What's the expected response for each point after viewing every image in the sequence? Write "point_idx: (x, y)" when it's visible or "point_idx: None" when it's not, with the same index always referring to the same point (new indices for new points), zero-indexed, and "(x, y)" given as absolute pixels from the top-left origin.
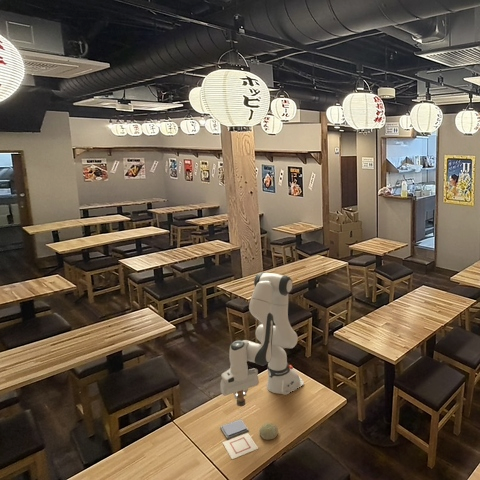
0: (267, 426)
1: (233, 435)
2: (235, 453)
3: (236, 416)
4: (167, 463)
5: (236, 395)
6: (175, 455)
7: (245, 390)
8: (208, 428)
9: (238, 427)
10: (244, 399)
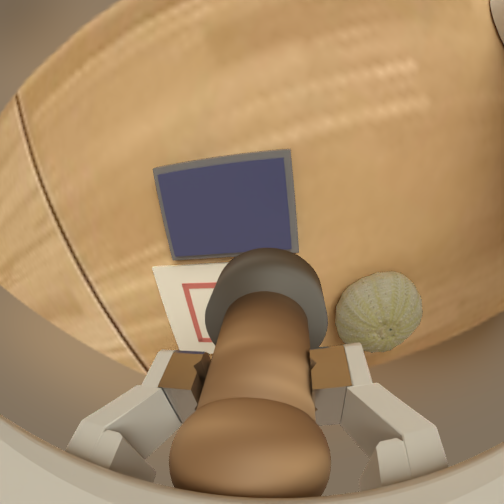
0: (384, 326)
1: (207, 257)
2: (197, 339)
3: (272, 101)
4: (15, 269)
5: (168, 436)
6: (23, 251)
7: (371, 438)
8: (105, 149)
9: (247, 222)
10: (319, 328)
